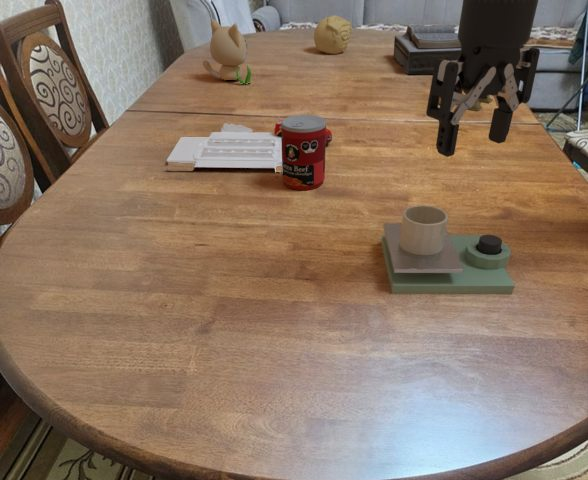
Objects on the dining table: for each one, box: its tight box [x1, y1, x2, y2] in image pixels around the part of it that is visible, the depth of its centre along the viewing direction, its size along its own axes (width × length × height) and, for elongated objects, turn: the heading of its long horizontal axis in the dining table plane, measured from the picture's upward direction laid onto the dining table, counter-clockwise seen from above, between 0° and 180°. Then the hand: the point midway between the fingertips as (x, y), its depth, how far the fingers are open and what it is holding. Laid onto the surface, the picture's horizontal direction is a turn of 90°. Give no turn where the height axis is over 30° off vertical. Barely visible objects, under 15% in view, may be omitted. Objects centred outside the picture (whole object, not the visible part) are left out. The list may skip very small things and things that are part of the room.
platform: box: [382, 222, 464, 273], centre depth 76 cm, size 9×13×1 cm
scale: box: [380, 234, 515, 295], centre depth 77 cm, size 17×14×3 cm
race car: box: [273, 119, 333, 144], centre depth 117 cm, size 13×5×4 cm, turn 58°
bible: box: [393, 24, 461, 76], centre depth 167 cm, size 23×27×10 cm
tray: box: [166, 122, 282, 173], centre depth 113 cm, size 20×28×4 cm
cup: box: [399, 204, 450, 255], centre depth 75 cm, size 6×6×4 cm
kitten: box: [202, 18, 252, 84], centre depth 153 cm, size 15×10×15 cm
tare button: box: [477, 234, 503, 255], centre depth 76 cm, size 3×3×2 cm
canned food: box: [281, 114, 327, 191], centre depth 98 cm, size 8×8×11 cm
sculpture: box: [313, 14, 352, 55], centre depth 182 cm, size 11×12×11 cm
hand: (471, 147), depth 67 cm, fingers open, 8 cm apart
